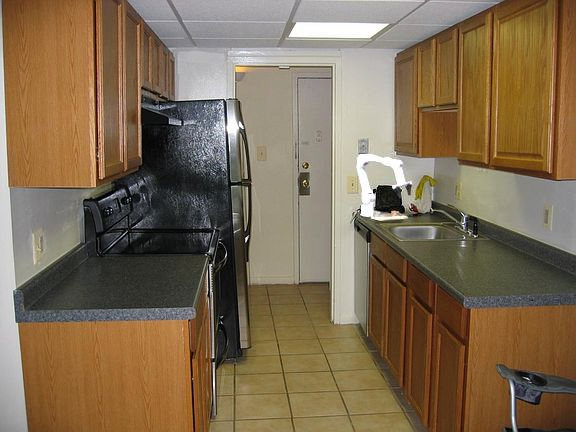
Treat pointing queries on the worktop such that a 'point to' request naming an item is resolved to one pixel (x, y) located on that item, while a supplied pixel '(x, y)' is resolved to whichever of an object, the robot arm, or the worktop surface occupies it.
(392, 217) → the gauge board
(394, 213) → the carriage
